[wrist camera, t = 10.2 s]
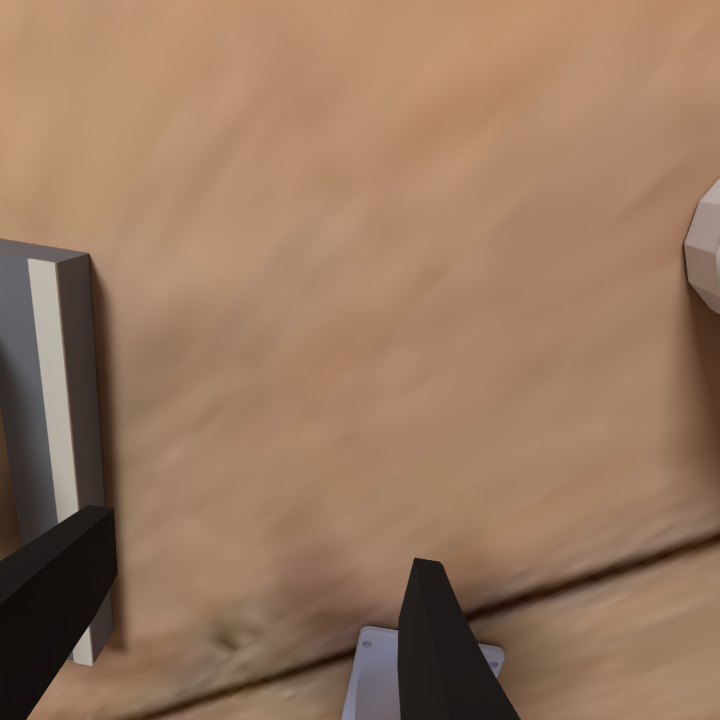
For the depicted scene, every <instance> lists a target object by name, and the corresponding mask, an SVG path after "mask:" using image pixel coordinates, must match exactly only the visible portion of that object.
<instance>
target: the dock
mask: <svg viewBox="0 0 720 720" xmlns="http://www.w3.org/2000/svg"><path fill="white" fill-rule="evenodd" d="M0 408H1V415H2V421H3V427H4V434H5V440H6V446H7V453H8V459H9V465H10V472H11V478H12V485H13V491H14V497H15V504H16V510H17V516H18V523H19V529H20V535H21V542H22V547H23V546H25V545H26V544H28V543H29V542H31V541H33V540H34V539H36V538H37V537H39V536H40V535H42V534H43V533H45V532H46V531H48V530H50V529H51V528H53V527H54V526H56V525H57V524H59V523H60V522H62V521H63V520H65V519H66V518H68V517H70V516H71V515H73V514H74V513H76V512H77V511H79V510H81V509H82V508H84V507H85V506H87V505H94V506H100V507H105V496H104V481H103V466H102V450H101V435H100V420H99V405H98V390H97V375H96V360H95V344H94V329H93V314H92V299H91V284H90V269H89V254H88V253H84V252H78V251H72V250H65V249H59V248H53V247H47V246H41V245H35V244H29V243H23V242H17V241H11V240H5V239H0ZM112 632H113V617H112V602H111V587H110V589H109V591H108V593H107V595H106V597H105V599H104V601H103V603H102V604H101V606H100V608H99V610H98V612H97V614H96V616H95V617H94V619H93V620H92V622H91V624H90V625H89V627H88V628H87V630H86V631H85V633H84V634H83V636H82V637H81V639H80V640H79V642H78V643H77V645H76V646H75V648H74V649H73V651H72V652H71V654H70V655H69V657H68V658H67V659H68V660H74V663H78V664H84V665H91V666H93V664H94V662H95V661H96V659H97V657H98V656H99V654H100V652H101V651H102V649H103V647H104V646H105V644H106V642H107V640H108V639H109V637H110V635H111V634H112Z"/></svg>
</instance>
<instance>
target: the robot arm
mask: <svg viewBox="0 0 720 720" xmlns="http://www.w3.org/2000/svg"><path fill="white" fill-rule="evenodd" d="M116 575H117V557H116V540H115V522H114V509H112V508H106V507H100V506H94V505H87V506H85V507H84V508H82V509H81V510H79V511H77V512H76V513H74V514H73V515H71V516H70V517H68V518H66V519H65V520H63V521H62V522H60V523H59V524H57V525H56V526H54V527H53V528H51V529H50V530H48V531H46V532H45V533H43V534H42V535H40V536H39V537H37V538H36V539H34V540H33V541H31V542H29V543H28V544H26V545H25V546H23V547H22V548H20V549H18V550H17V551H15V552H14V553H12V554H11V555H9V556H7V557H6V558H4V559H3V560H1V561H0V720H26V719H27V718H28V716H29V715H30V713H31V712H32V710H33V709H34V707H35V706H36V704H37V703H38V701H39V700H40V698H41V697H42V695H43V694H44V692H45V691H46V689H47V688H48V686H49V685H50V683H51V682H52V680H53V679H54V677H55V676H56V675H57V673H58V672H59V670H60V669H61V667H62V666H63V664H64V663H65V661H66V660H67V658H68V657H69V655H70V654H71V652H72V651H73V649H74V648H75V646H76V645H77V643H78V642H79V640H80V639H81V637H82V636H83V634H84V633H85V631H86V630H87V628H88V627H89V625H90V624H91V622H92V620H93V619H94V617H95V616H96V614H97V612H98V610H99V608H100V606H101V604H102V603H103V601H104V599H105V597H106V595H107V593H108V591H109V589H110V587H111V585H112V583H113V581H114V579H115V577H116ZM504 660H505V655H504V651H503V649H501V648H500V647H497V646H491V645H485V644H479V643H477V641H476V639H475V637H474V635H473V633H472V631H471V629H470V627H469V625H468V622H467V620H466V618H465V616H464V614H463V612H462V610H461V607H460V605H459V603H458V601H457V598H456V596H455V594H454V592H453V589H452V587H451V584H450V582H449V580H448V577H447V575H446V572H445V569H444V567H443V565H442V564H441V563H440V562H438V561H432V560H426V559H420V558H414V561H413V565H412V569H411V573H410V577H409V581H408V585H407V588H406V592H405V596H404V600H403V604H402V608H401V612H400V616H399V623H398V630H393V629H386V628H380V627H374V626H365V627H363V628H361V630H360V633H359V638H358V643H357V647H356V652H355V656H354V661H353V666H352V670H351V675H350V679H349V684H348V689H347V693H346V698H345V702H344V707H343V712H342V716H341V720H521V719H520V717H519V716H518V714H517V713H516V711H515V709H514V708H513V706H512V704H511V703H510V701H509V699H508V698H507V696H506V694H505V692H504V691H503V689H502V687H501V685H500V684H499V682H498V680H497V678H498V675H499V673H500V670H501V668H502V665H503V662H504Z"/></svg>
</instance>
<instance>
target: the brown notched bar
mask: <svg viewBox="0 0 720 720" xmlns="http://www.w3.org/2000/svg"><path fill="white" fill-rule="evenodd" d="M20 548H22V542H21V535H20V529H19V523H18V516H17V510H16V504H15V497H14V491H13V485H12V478H11V472H10V465H9V459H8V453H7V446H6V440H5V434H4V427H3V421H2V415H1V408H0V561H1V560H3V559H4V558H6V557H7V556H9V555H11V554H12V553H14V552H15V551H17V550H18V549H20Z"/></svg>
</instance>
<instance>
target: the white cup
mask: <svg viewBox="0 0 720 720" xmlns="http://www.w3.org/2000/svg"><path fill="white" fill-rule="evenodd" d="M684 249H685V258H686V266H687V275H688V282H689V283H690V284H691V286H692V287H693V288H694V289H695V291H696V292H697V293H698V294H699V296H700V297H701V298H702V299H703V301H704V302H705V303H706V305H707V306H708V307H709V308H710V309H711V310H712V311H714V312H716V313H718V314H720V178H719V179H718V180H717V181H716V182H715V184H714V185H713V186H712V187H711V188H710V189H709V191H708V192H707V193H706V194H705V195H704V196H703V198H702V199H701V200H700V201H699V203H698V205H697V208H696V211H695V214H694V217H693V219H692V222H691V225H690V228H689V231H688V233H687V236H686V239H685V242H684Z"/></svg>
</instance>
